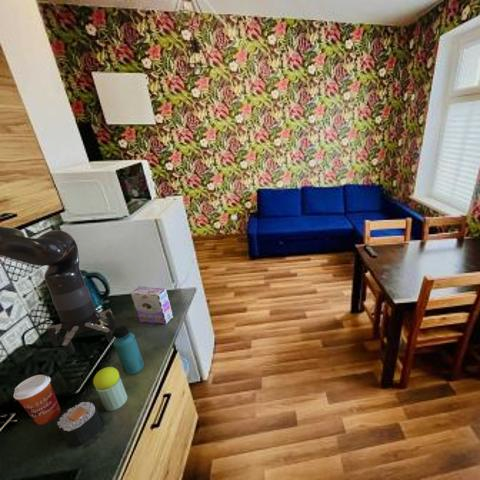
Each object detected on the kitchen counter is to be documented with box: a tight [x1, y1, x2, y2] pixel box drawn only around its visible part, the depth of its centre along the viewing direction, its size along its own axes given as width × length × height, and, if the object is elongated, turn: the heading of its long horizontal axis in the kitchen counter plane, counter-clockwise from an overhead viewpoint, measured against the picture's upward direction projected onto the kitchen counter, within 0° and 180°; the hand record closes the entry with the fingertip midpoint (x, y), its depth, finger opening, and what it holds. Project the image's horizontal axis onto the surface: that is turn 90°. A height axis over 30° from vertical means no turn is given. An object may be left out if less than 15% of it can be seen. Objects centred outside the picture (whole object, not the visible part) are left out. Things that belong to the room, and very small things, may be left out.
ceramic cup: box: [95, 375, 128, 412], centre depth 86 cm, size 6×6×9 cm
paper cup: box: [13, 374, 61, 426], centre depth 81 cm, size 8×8×14 cm
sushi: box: [56, 401, 104, 447], centre depth 78 cm, size 8×8×8 cm
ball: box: [92, 366, 120, 390], centre depth 84 cm, size 6×6×6 cm
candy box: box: [129, 286, 174, 326], centre depth 123 cm, size 14×6×16 cm, turn 83°
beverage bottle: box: [112, 325, 145, 376], centre depth 95 cm, size 6×7×20 cm
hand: (91, 346), depth 80 cm, fingers open, 8 cm apart
